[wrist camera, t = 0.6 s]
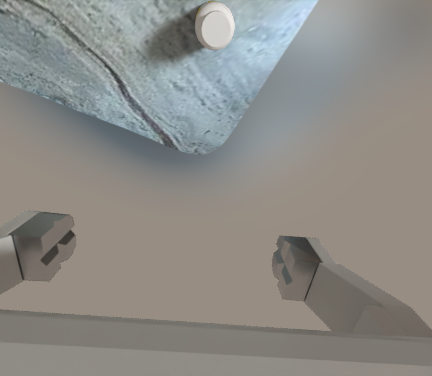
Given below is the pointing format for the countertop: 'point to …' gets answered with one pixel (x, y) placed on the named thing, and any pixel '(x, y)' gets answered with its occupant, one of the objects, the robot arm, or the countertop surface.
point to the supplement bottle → (214, 25)
